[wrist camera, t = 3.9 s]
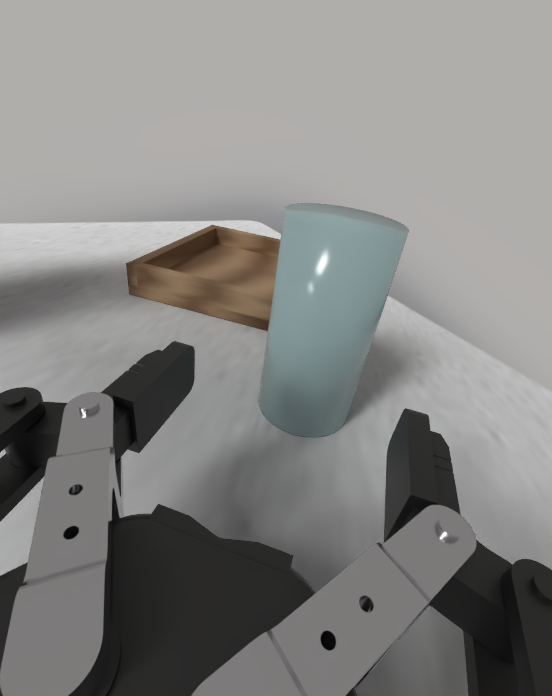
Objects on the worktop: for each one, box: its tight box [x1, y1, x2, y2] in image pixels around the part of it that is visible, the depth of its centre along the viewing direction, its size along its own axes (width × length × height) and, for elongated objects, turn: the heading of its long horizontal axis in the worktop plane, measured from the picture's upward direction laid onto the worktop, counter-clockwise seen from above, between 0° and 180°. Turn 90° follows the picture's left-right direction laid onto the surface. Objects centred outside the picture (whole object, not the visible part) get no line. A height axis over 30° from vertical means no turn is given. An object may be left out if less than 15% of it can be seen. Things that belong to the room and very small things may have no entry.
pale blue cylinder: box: [259, 203, 409, 437], centre depth 20 cm, size 6×6×12 cm
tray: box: [126, 225, 281, 331], centre depth 38 cm, size 16×18×3 cm
